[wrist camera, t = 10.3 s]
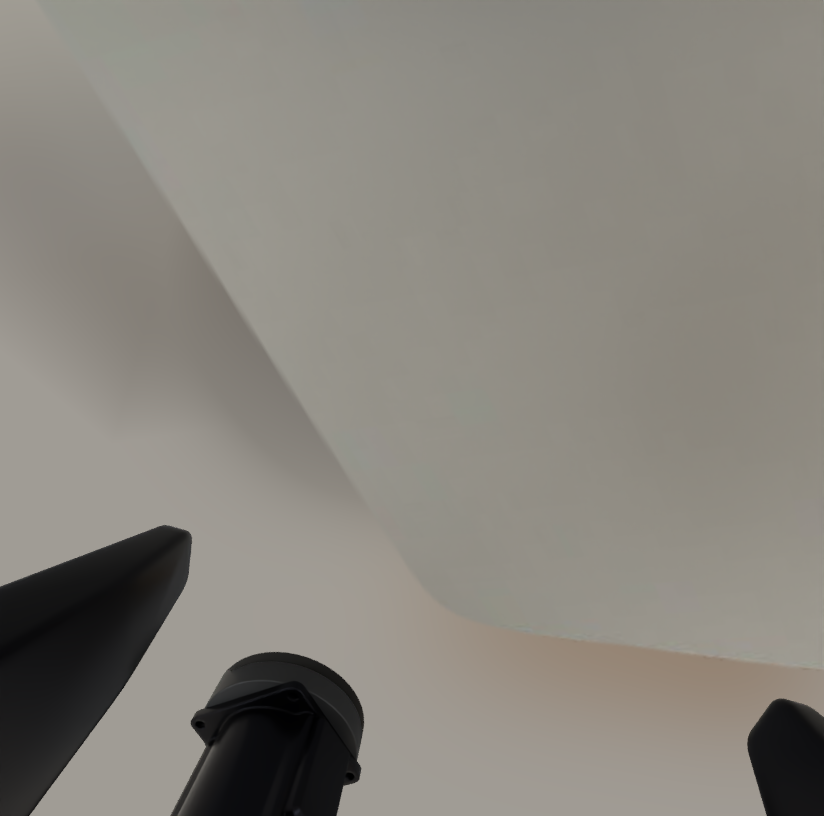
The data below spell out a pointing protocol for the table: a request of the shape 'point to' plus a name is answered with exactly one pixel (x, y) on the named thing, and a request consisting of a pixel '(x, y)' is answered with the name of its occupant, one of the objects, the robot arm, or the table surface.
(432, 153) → the table surface
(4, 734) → the robot arm
